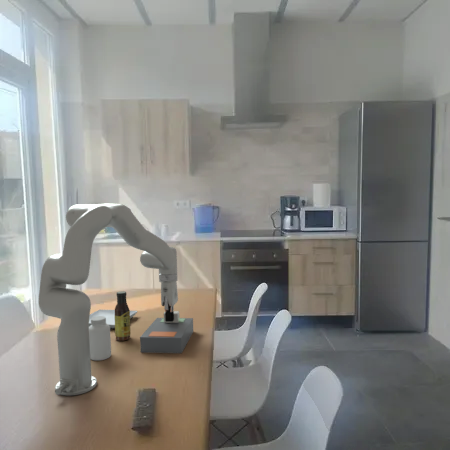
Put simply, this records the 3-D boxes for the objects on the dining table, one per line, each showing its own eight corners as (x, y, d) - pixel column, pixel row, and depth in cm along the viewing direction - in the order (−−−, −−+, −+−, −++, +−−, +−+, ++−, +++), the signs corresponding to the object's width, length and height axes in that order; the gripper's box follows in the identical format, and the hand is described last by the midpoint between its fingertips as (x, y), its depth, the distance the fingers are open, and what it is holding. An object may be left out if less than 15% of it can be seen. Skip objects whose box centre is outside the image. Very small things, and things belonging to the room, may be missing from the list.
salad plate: (75, 329, 195) (74, 321, 195) (99, 315, 216) (99, 308, 215) (117, 332, 190) (117, 324, 190) (138, 317, 211) (138, 310, 210)
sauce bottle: (126, 342, 177) (124, 294, 175) (112, 341, 178) (110, 294, 176) (133, 336, 183) (131, 290, 181) (119, 335, 184) (117, 290, 182)
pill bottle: (89, 362, 157) (86, 322, 155) (89, 354, 165) (87, 316, 163) (111, 359, 159) (109, 320, 158) (111, 351, 167) (109, 313, 165)
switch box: (181, 353, 163) (180, 337, 163) (140, 352, 165) (139, 336, 165) (193, 331, 187) (192, 317, 186) (157, 331, 189) (157, 317, 188)
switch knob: (177, 322, 180) (177, 313, 179) (163, 322, 180) (163, 313, 180) (179, 320, 183) (179, 311, 182) (165, 320, 183) (165, 311, 183)
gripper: (172, 281, 168) (174, 327, 170) (181, 273, 183) (182, 315, 185) (154, 281, 169) (155, 326, 171) (164, 273, 184) (165, 315, 186)
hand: (169, 320), depth 178 cm, fingers closed
